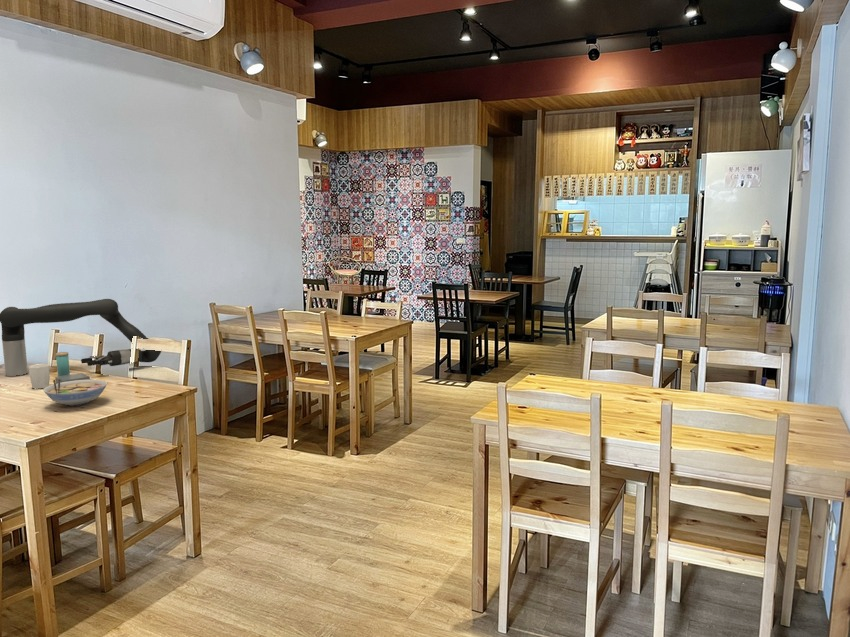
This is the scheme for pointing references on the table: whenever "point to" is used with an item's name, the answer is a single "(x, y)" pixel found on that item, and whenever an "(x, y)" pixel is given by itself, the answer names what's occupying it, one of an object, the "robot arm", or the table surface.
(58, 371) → the tea canister
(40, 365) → the white cup
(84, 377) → the slate plinth
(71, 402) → the ramen bowl
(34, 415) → the table surface
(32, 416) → the table surface
